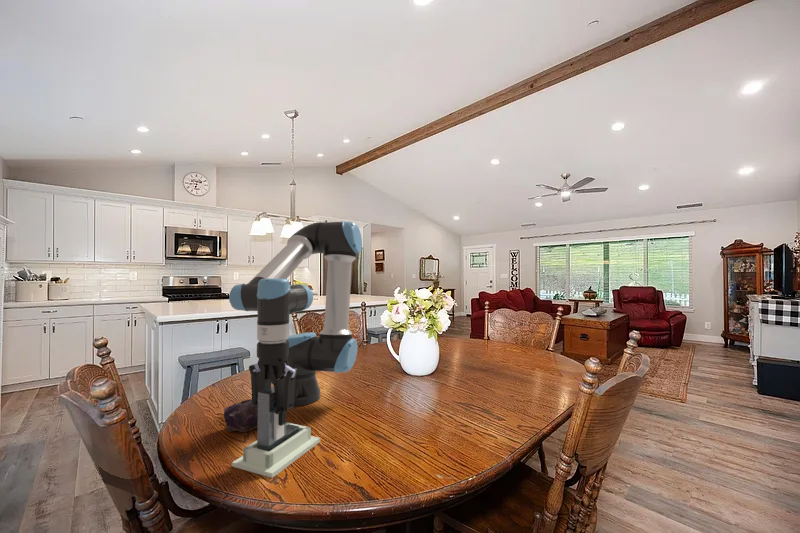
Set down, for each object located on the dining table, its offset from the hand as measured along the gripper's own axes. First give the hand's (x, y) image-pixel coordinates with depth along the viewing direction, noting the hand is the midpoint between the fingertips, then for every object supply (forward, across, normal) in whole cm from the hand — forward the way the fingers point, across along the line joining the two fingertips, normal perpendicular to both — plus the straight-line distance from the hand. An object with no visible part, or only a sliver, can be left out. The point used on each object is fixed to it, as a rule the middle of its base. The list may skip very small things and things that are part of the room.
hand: (272, 435), depth 86 cm
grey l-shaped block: (+3, 0, +2) cm, 4 cm away
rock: (+6, -18, +10) cm, 21 cm away
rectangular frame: (+5, 0, +2) cm, 6 cm away
